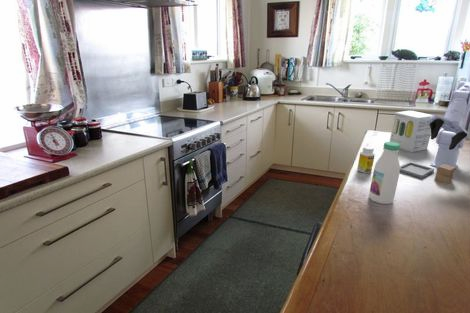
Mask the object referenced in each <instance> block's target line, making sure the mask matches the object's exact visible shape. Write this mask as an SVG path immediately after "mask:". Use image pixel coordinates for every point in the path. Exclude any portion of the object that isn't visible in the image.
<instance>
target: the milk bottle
mask: <svg viewBox="0 0 470 313" xmlns="http://www.w3.org/2000/svg"><path fill="white" fill-rule="evenodd" d="M399 152H400V145H399V144H398V143H394V142H390V141H385V142H384V143H383V152H382V153H381V154H380V156H379V158H378V159H377V161H376V162H375V165H374V168H373V171H372V178H371V183H370V187H369V193H368V198H369V200H371V201H373V203H374V202H375V203H377V204H381V205H389V204H390V205H391V204H393V202H394V201H395V200H394V199H395V196H396V195H395V194H396V191H397V186H398V182H399V177H400V174H401V172H400V166H401V164H400V160H399V156H398V153H399Z"/></svg>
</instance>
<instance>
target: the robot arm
mask: <svg viewBox="0 0 470 313" xmlns="http://www.w3.org/2000/svg"><path fill="white" fill-rule="evenodd" d="M469 114H470V81H464V80H461V81H459V82H458V85H457V88H456V90H454V91H452V92H451V95H450V98H449V102H448V105H447V109H446V111H445V114H444V116H441V115H438V114H436V113H435V114H431V115H432V116H431V118H430V120H431V121H432V122H431V123H430V128H431V135H430V140H435V139H436V140H435V143H436V144H437V146H438V148H437V151H436V152H437V153H436V156H435V159H434V162H432V163H430V166H432V167H435V168H438V166H440V165H442V164H444V165H448V166H452V167H455V169H456V168H457V167H459V164H458V163H457V162H458V158H459V155H460V149H462V148H464V146H465V143H466V141H467V139H468V137H469V136H470V133H469V132H468V131H467V130H466V129H465V128H464V125H465V122H466V120H467V118H468V115H469Z"/></svg>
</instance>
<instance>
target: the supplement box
mask: <svg viewBox="0 0 470 313" xmlns="http://www.w3.org/2000/svg"><path fill="white" fill-rule="evenodd" d="M432 115H433V114H429V113H426V112H425V113H424V112H420V111H415V110H403V111H397V112H396V111H395V112H394V118H393V122H392V127H391V128H392V129H391V133H390V138H389V142H394V143H398V144H399V145H400V148H399V150H404V151H406V152H410V153H414V152H419V151H423V150H428V147H429V143H430V140H431V128H430V123H431V122H432V121H431V120H430V118H431V116H432Z"/></svg>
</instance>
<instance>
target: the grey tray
mask: <svg viewBox="0 0 470 313" xmlns="http://www.w3.org/2000/svg"><path fill="white" fill-rule="evenodd" d="M434 171H435V168H433V167H430V166H426V165H424V164H423V165H422V164H419V163H416V162H412V161H407V162H405V163H404V164H400V174H401V173H402V174H404V175H407V176H410V177H414V178H417V179H421V180H423V179H424V178H426V177H427V176H429V175H431V174H432V173H434Z"/></svg>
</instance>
